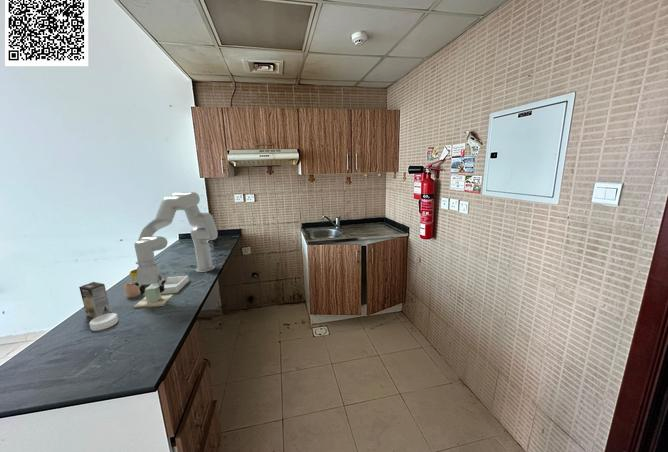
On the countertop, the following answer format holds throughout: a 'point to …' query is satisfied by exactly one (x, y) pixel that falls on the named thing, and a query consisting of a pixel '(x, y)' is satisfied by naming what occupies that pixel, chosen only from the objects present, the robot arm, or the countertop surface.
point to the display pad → (160, 302)
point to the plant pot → (133, 274)
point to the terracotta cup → (132, 289)
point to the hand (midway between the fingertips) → (153, 292)
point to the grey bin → (173, 284)
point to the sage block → (152, 294)
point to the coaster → (103, 321)
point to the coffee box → (95, 299)
